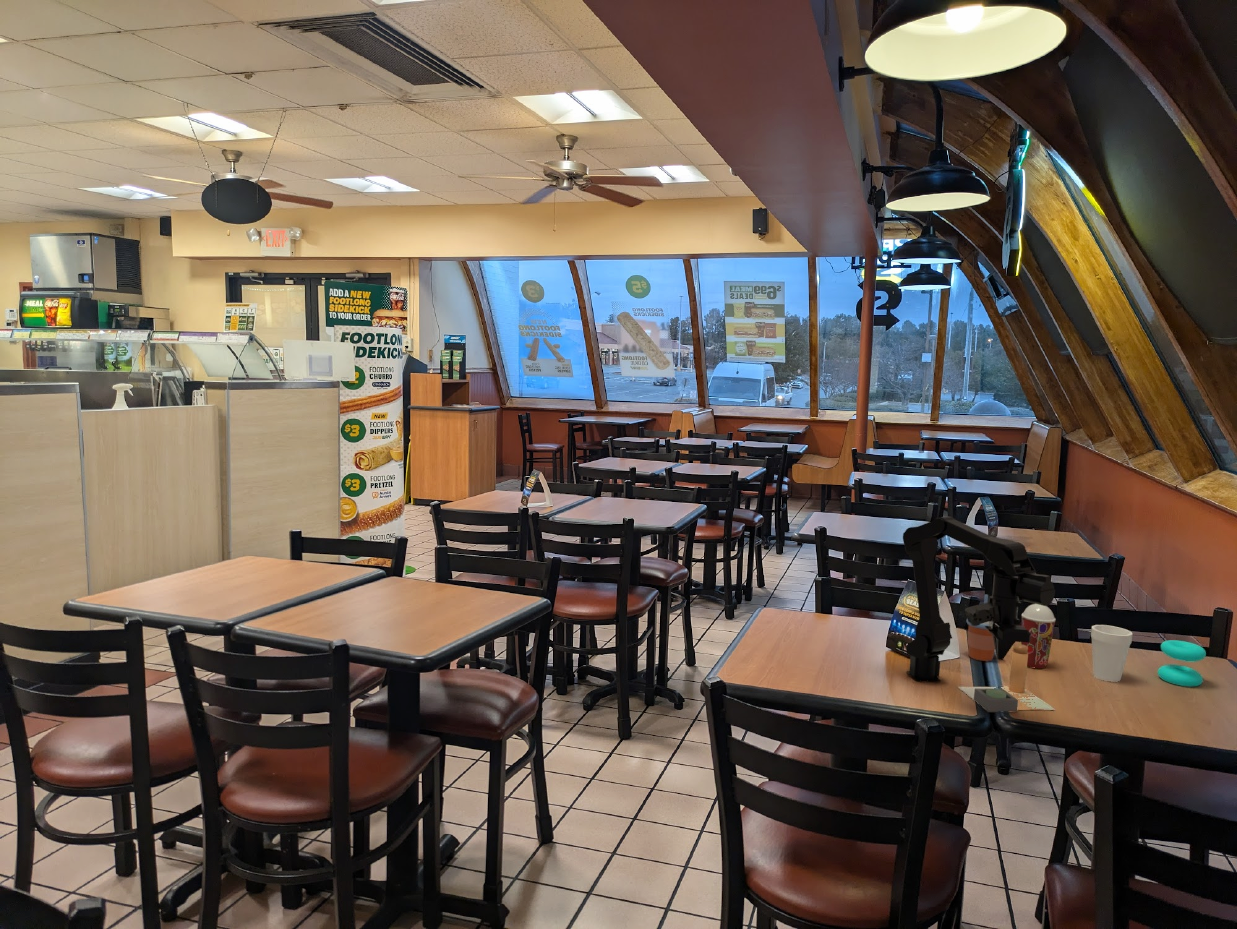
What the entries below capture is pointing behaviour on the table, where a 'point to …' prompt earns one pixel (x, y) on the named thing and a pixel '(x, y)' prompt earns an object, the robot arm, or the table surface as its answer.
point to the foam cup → (1109, 651)
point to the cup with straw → (980, 641)
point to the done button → (995, 693)
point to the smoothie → (1038, 634)
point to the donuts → (1178, 672)
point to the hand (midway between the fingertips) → (999, 659)
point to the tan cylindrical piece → (1018, 668)
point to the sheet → (1003, 699)
